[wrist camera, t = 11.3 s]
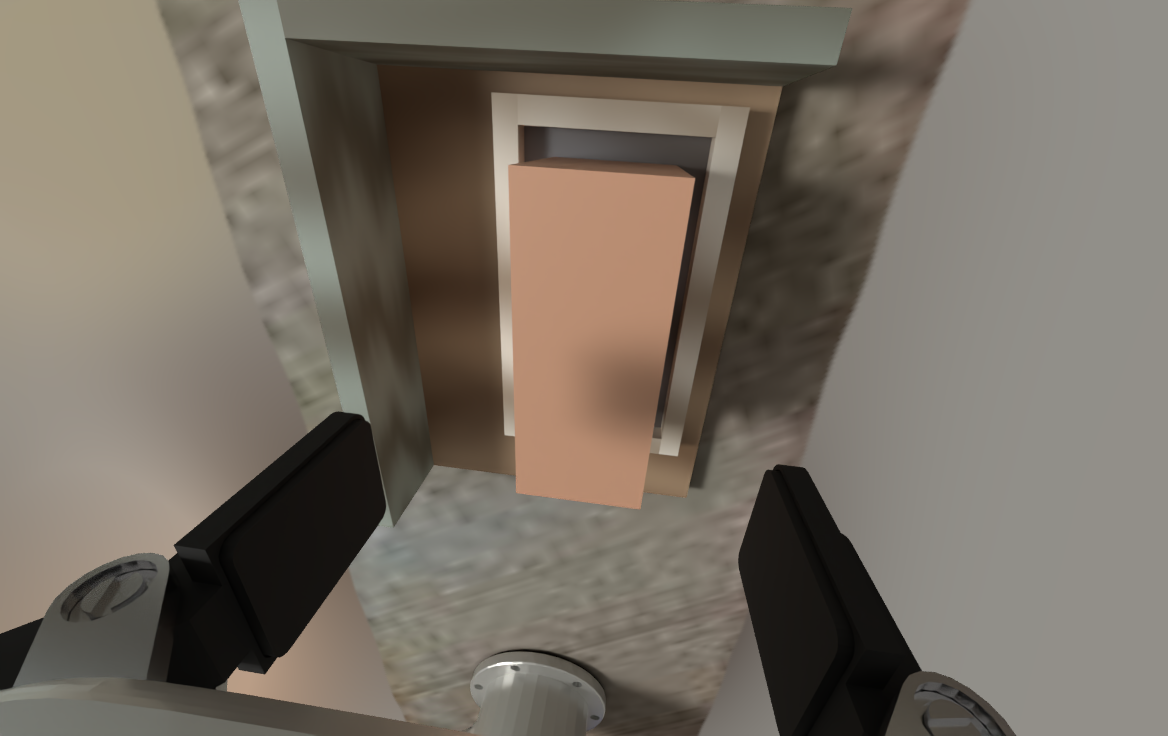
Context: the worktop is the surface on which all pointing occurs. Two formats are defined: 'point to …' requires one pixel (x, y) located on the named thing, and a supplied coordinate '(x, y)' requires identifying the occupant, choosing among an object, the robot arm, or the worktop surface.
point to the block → (591, 320)
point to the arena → (481, 187)
